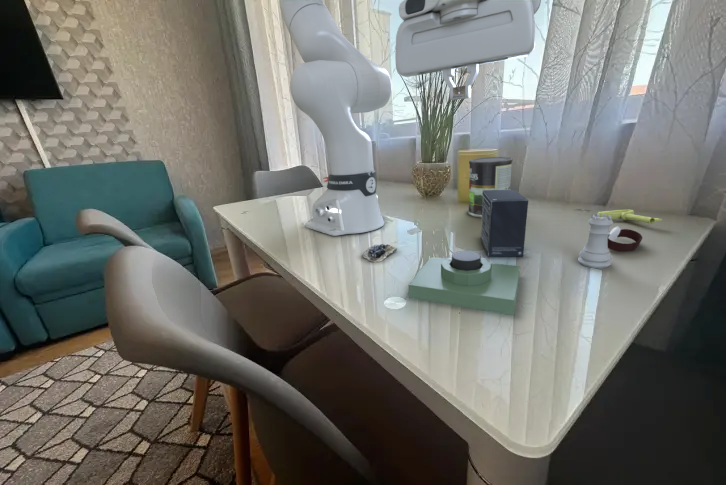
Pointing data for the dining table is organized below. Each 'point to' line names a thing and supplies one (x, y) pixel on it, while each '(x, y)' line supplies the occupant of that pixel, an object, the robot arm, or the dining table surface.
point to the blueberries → (378, 252)
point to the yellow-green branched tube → (628, 216)
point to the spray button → (466, 260)
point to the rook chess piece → (597, 243)
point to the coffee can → (487, 179)
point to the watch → (623, 233)
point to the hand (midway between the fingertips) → (460, 99)
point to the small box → (503, 223)
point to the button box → (467, 285)
